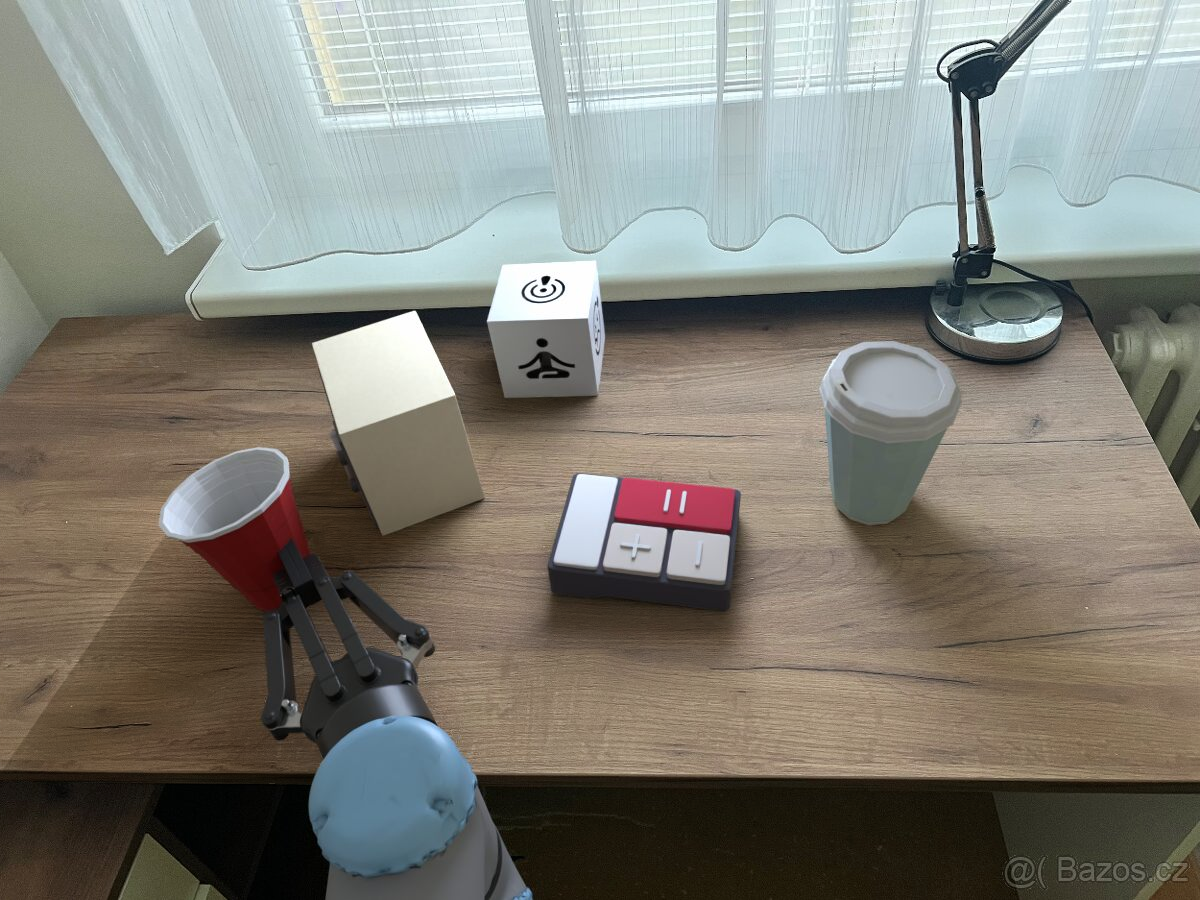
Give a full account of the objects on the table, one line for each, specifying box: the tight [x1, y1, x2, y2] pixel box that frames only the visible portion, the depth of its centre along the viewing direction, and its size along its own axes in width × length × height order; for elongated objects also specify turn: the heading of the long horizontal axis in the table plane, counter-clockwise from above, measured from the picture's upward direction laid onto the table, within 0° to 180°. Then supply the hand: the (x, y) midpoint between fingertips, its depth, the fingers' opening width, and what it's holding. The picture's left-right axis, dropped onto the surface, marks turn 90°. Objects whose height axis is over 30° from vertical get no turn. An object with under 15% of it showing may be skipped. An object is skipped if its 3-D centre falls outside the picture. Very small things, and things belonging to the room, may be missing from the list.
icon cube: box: [486, 260, 606, 399], centre depth 92 cm, size 10×10×10 cm
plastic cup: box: [158, 446, 312, 612], centre depth 73 cm, size 11×11×12 cm
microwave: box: [311, 310, 485, 537], centre depth 82 cm, size 11×14×13 cm
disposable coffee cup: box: [818, 340, 963, 526], centre depth 72 cm, size 11×11×15 cm
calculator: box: [547, 472, 742, 612], centre depth 75 cm, size 11×4×15 cm
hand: (284, 542), depth 73 cm, fingers closed
